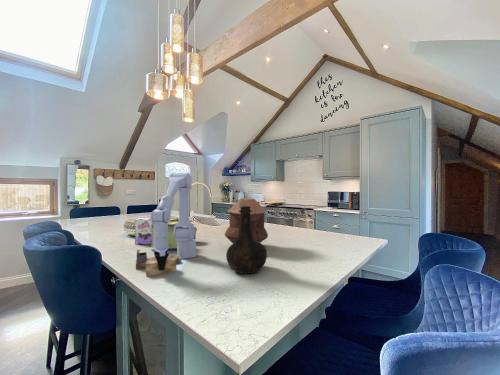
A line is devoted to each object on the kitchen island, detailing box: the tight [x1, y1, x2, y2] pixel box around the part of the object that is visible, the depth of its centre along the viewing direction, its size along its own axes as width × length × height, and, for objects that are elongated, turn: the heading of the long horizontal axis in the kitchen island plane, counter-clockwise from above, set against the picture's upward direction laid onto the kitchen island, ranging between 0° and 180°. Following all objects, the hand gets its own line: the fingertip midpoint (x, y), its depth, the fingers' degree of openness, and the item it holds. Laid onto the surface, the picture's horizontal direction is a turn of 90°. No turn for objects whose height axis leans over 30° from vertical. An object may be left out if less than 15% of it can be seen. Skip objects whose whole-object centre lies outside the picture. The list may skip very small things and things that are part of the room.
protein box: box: [151, 221, 179, 252], centre depth 141 cm, size 10×16×16 cm
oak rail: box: [145, 258, 177, 277], centre depth 101 cm, size 12×4×5 cm, turn 115°
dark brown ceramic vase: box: [225, 206, 268, 274], centre depth 103 cm, size 18×18×28 cm
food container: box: [193, 225, 198, 240], centre depth 155 cm, size 12×6×10 cm, turn 168°
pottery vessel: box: [224, 197, 269, 244], centre depth 139 cm, size 26×26×30 cm
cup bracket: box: [136, 249, 148, 263], centre depth 109 cm, size 4×6×4 cm
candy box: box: [134, 217, 152, 246], centre depth 154 cm, size 14×6×16 cm, turn 80°
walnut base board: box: [135, 253, 180, 270], centre depth 112 cm, size 19×7×2 cm, turn 115°
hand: (161, 268), depth 101 cm, fingers closed on oak rail, 3 cm apart
